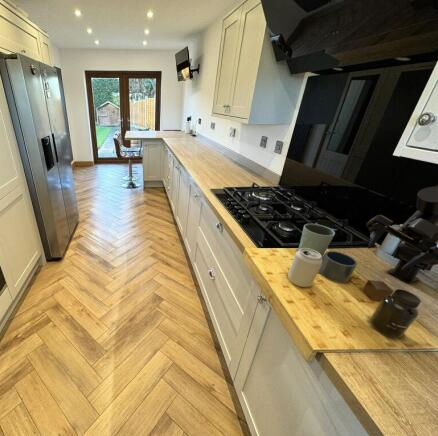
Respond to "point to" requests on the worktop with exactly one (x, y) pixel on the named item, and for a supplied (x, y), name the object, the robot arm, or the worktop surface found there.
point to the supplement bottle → (395, 313)
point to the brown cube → (377, 290)
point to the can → (305, 267)
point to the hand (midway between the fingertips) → (385, 258)
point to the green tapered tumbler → (316, 237)
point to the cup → (337, 266)
